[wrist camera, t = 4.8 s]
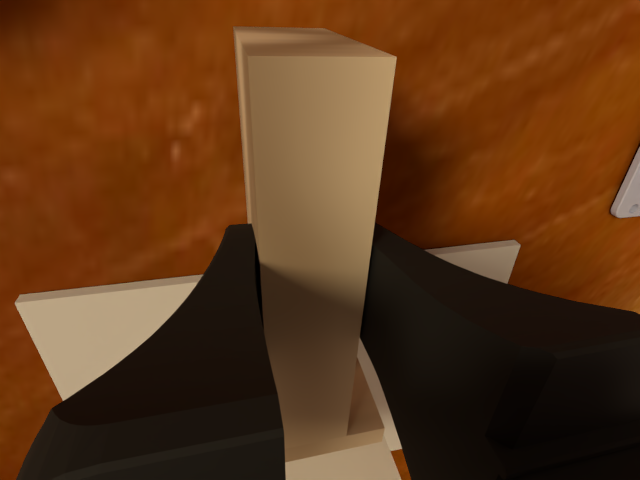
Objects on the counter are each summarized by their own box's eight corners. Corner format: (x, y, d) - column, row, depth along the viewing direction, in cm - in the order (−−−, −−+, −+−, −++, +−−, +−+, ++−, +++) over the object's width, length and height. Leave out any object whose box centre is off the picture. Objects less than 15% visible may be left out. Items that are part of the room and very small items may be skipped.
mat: (514, 239, 20) (520, 244, 19) (450, 430, 28) (454, 436, 27) (19, 294, 15) (14, 303, 15) (120, 503, 23) (118, 512, 23)
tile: (349, 347, 20) (416, 517, 13) (347, 368, 21) (409, 538, 14) (209, 369, 19) (207, 573, 12) (213, 391, 19) (213, 592, 13)
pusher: (370, 29, 11) (468, 57, 7) (341, 332, 17) (381, 441, 13) (179, 25, 10) (155, 55, 6) (225, 350, 16) (229, 474, 12)
